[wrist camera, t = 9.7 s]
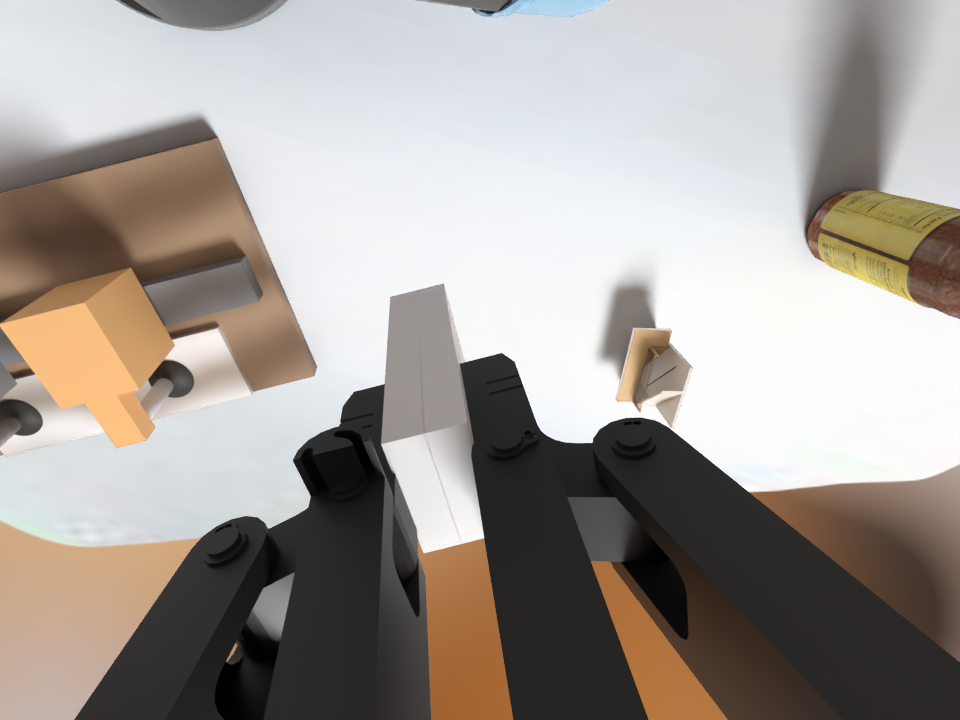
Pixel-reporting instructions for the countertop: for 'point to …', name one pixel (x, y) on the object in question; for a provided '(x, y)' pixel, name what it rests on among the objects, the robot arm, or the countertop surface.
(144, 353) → the block
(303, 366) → the brown board with bar
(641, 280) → the countertop surface
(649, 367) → the architectural model
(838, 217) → the sauce bottle
